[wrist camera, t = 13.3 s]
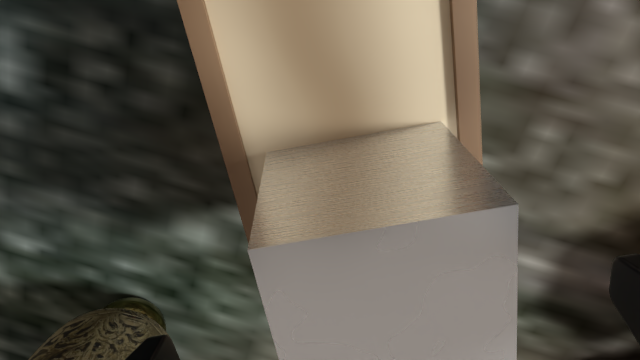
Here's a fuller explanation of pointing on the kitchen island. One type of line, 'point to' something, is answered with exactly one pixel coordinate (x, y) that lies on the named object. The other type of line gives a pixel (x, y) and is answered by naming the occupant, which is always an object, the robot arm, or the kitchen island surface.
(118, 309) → the cup
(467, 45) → the beam
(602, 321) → the kitchen island surface
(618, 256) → the robot arm
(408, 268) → the steel block
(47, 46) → the kitchen island surface
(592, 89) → the kitchen island surface
